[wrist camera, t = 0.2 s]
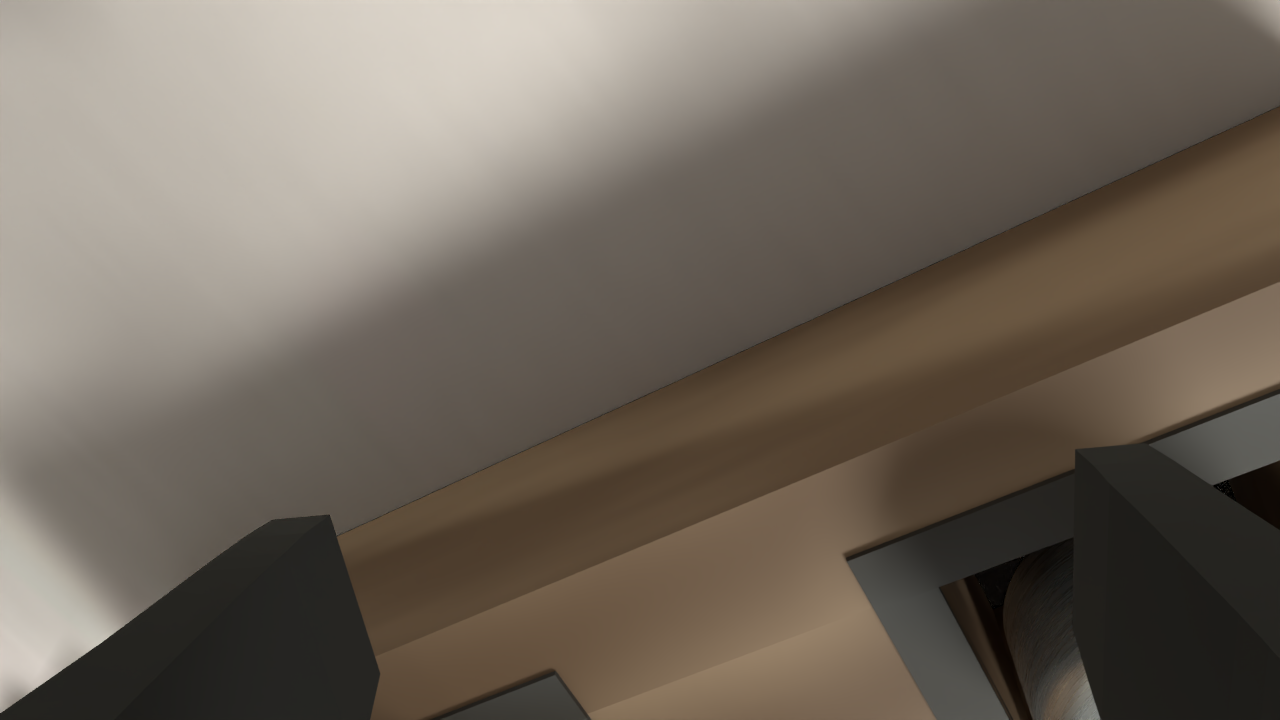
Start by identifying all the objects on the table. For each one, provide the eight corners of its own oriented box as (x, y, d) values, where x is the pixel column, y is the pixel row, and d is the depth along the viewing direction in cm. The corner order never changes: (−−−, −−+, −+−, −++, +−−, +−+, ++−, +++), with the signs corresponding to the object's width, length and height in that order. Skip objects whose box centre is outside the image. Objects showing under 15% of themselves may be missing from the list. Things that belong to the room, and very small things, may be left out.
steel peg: (1316, 656, 18) (1488, 908, 14) (1057, 740, 19) (1145, 996, 15) (1238, 452, 16) (1406, 667, 12) (961, 557, 17) (1032, 785, 13)
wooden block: (1468, 549, 21) (1670, 752, 17) (433, 897, 28) (375, 1110, 23) (1330, 83, 18) (1536, 180, 13) (180, 608, 24) (53, 793, 20)
